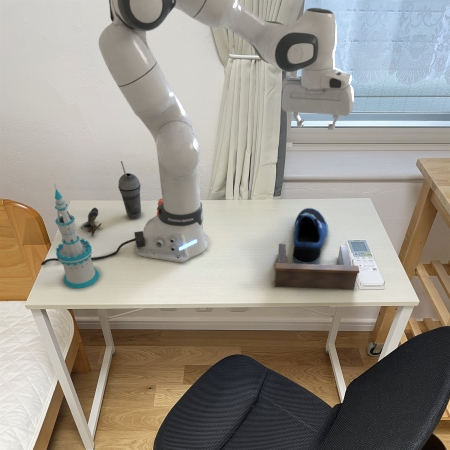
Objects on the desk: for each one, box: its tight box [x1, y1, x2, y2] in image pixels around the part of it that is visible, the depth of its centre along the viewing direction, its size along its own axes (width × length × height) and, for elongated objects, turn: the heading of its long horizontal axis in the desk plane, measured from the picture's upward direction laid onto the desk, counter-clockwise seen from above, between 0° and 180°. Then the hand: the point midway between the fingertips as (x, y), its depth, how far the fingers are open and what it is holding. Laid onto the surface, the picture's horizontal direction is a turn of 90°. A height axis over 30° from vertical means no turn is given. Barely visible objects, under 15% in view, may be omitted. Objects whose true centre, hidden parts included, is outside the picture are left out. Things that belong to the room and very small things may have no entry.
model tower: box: [53, 183, 100, 290], centre depth 123 cm, size 10×10×30 cm
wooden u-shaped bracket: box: [274, 243, 360, 291], centre depth 131 cm, size 23×14×7 cm, turn 86°
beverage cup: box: [117, 160, 142, 221], centre depth 151 cm, size 7×7×20 cm
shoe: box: [292, 207, 329, 264], centre depth 140 cm, size 11×30×12 cm, turn 168°
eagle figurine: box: [80, 207, 102, 237], centre depth 150 cm, size 8×7×9 cm
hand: (315, 128), depth 134 cm, fingers open, 8 cm apart
